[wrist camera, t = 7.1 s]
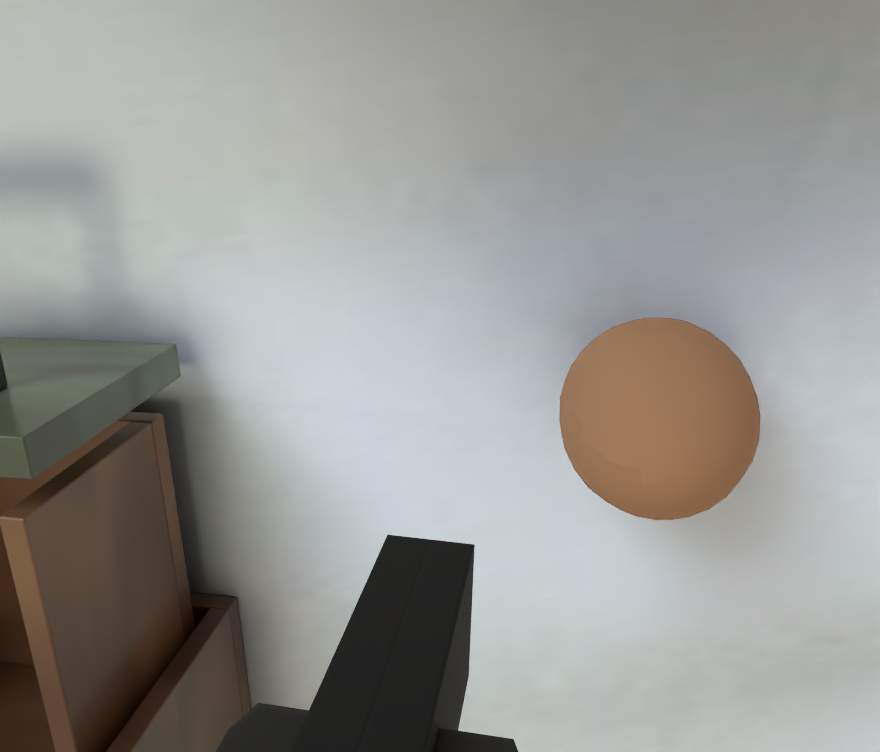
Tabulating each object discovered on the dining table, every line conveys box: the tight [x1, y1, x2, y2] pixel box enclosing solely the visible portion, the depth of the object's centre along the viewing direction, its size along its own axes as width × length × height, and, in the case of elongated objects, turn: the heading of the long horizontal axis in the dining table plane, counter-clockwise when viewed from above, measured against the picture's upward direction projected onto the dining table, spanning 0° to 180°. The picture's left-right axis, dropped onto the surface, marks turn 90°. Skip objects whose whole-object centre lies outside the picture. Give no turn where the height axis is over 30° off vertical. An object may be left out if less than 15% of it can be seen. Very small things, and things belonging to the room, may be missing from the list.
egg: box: [560, 318, 760, 520], centre depth 21 cm, size 5×5×7 cm
